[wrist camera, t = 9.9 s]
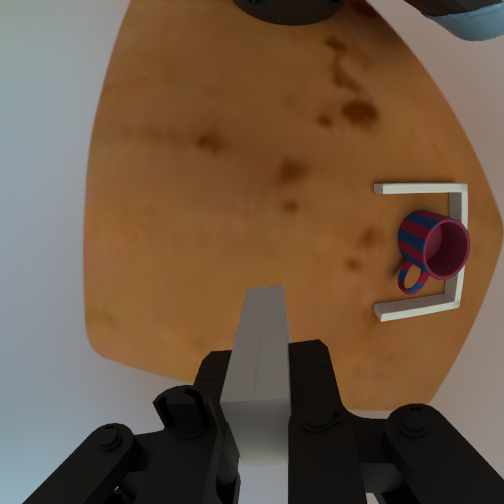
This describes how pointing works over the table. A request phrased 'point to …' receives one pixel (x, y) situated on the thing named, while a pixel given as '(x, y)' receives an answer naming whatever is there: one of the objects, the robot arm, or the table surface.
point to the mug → (432, 247)
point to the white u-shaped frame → (452, 285)
